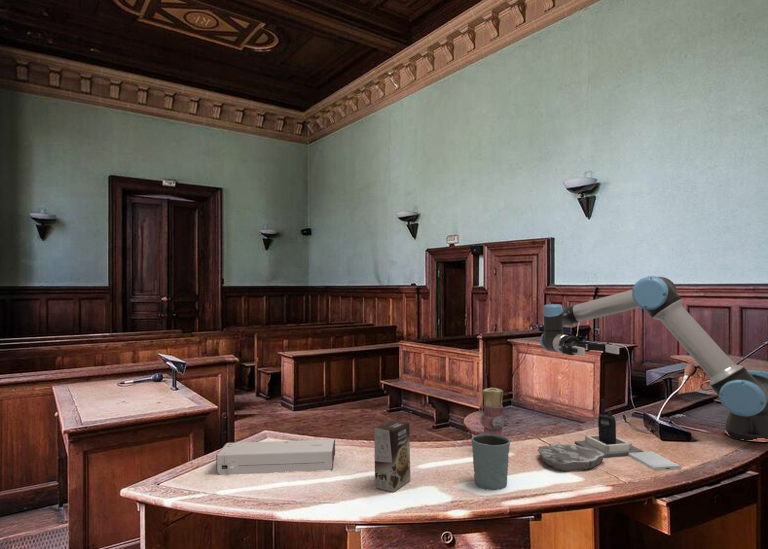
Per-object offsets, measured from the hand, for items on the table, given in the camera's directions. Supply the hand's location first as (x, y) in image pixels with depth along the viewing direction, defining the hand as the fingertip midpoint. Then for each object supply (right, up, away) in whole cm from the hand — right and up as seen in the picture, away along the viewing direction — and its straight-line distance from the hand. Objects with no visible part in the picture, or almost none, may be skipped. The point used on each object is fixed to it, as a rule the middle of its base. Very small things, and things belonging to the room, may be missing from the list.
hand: (601, 351), depth 172 cm
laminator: (-109, -32, -24) cm, 116 cm away
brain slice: (-21, -30, -24) cm, 44 cm away
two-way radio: (-4, -29, -14) cm, 32 cm away
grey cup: (-48, -30, -40) cm, 69 cm away
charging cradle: (-4, -30, -14) cm, 33 cm away
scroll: (-42, -31, -14) cm, 54 cm away
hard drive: (+4, -30, -26) cm, 40 cm away
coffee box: (-74, -30, -39) cm, 89 cm away
